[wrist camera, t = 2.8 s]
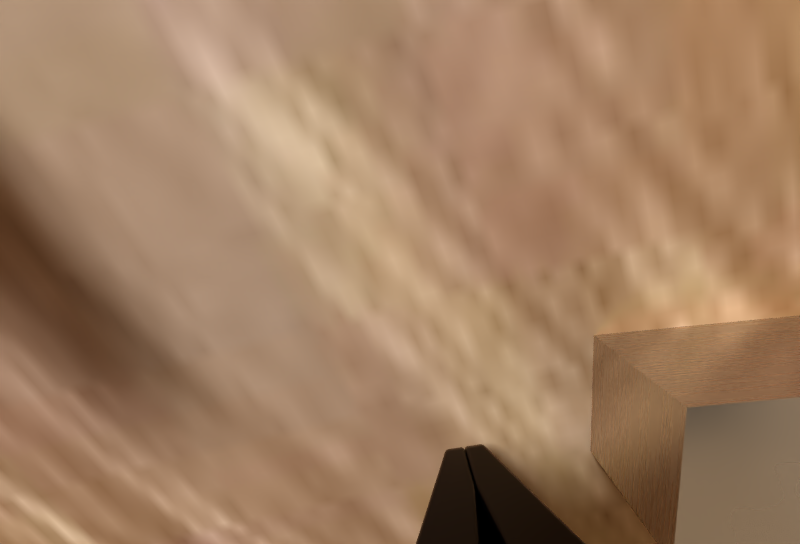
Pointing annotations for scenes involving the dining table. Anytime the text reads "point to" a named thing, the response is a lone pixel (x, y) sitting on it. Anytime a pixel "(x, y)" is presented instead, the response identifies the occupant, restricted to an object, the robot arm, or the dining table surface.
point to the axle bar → (703, 429)
